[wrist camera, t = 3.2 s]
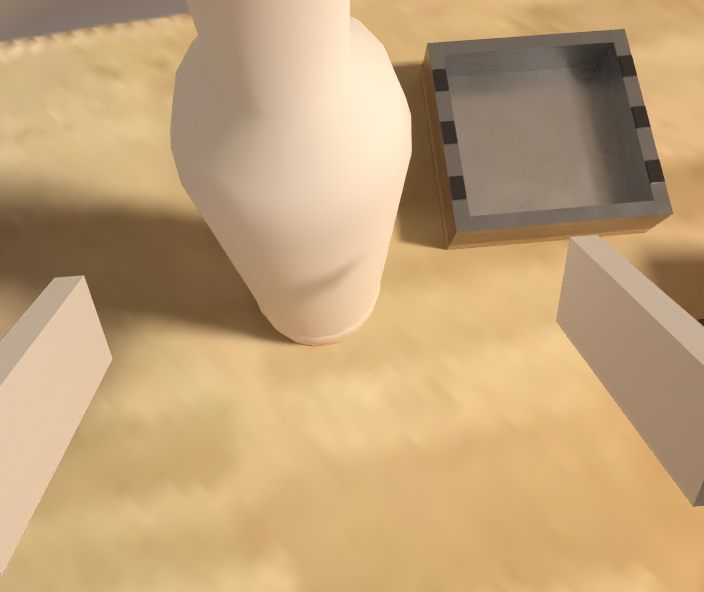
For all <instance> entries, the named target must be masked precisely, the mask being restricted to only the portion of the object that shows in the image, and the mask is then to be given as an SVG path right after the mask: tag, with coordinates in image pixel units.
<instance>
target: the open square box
mask: <svg viewBox="0 0 704 592" xmlns="http://www.w3.org/2000/svg"><path fill="white" fill-rule="evenodd" d="M421 79H422V86H423V93H424V99H425V106H426V113H427V119H428V126H429V133H430V140H431V146H432V153H433V160H434V166H435V173H436V180H437V187H438V193H439V200H440V207H441V213H442V220H443V227H444V233H445V240H446V247H447V250H451V249H462V248H474V247H485V246H496V245H508V244H519V243H531V242H542V241H553V240H565V239H570V237H575V236H588V235H598V236H610V235H622V234H633V233H645V232H647V231H648V230H650V229H651V228H653V227H654V226H656V225H657V224H659V223H660V222H661V221H663V220H664V219H666V218H667V217H669V216H670V215H672V214H673V211H672V207H671V204H670V200H669V196H668V192H667V188H666V185H665V180H664V176H663V172H662V168H661V164H660V161H659V158H658V154H657V150H656V147H655V143H654V139H653V135H652V131H651V128H650V127H651V126H650V123H649V119H648V115H647V111H646V107H645V105H644V101H643V97H642V93H641V90H640V86H639V82H638V78H637V73H636V70H635V66H634V62H633V58H632V55H631V52H630V48H629V44H628V40H627V36H626V33H625V29H619V30H605V31H591V32H577V33H563V34H549V35H535V36H521V37H508V38H494V39H480V40H466V41H452V42H438V43H427V47H426V52H425V57H424V61H423V66H422V71H421Z"/></svg>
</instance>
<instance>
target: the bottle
mask: <svg viewBox="0 0 704 592" xmlns="http://www.w3.org/2000/svg"><path fill="white" fill-rule="evenodd" d="M186 2H187V5H188V8H189V10H190V13H191V16H192V19H193V21H194V24H195V27H196V30H197V32H198V35H199V36H198V37H197V38H196V39H195V40H194V41H193V42H192V43H191V45H190V47H189V49H188V51H187V53H186V55H185V57H184V58H183V60H182V62H181V64H180V66H179V68H178V70H177V72H176V77H175V87H174V96H173V105H172V116H171V128H170V135H171V150H172V153H173V157H174V160H175V163H176V167H177V170H178V173H179V177H180V180H181V183H182V186H183V187H184V189H185V190H186V192H187V194H188V195H189V197H190V198H191V200H192V201H193V203H194V204H195V206H196V208H197V209H198V211H199V212H200V214H201V215H202V217H203V218H204V220H205V222H206V223H207V225H208V226H209V228H210V229H211V231H212V232H213V234H214V235H215V237H216V239H217V240H218V242H219V243H220V245H221V246H222V248H223V249H224V251H225V253H226V254H227V256H228V257H229V259H230V260H231V262H232V263H233V265H234V267H235V268H236V270H237V271H238V273H239V274H240V276H241V277H242V279H243V281H244V282H245V284H246V285H247V287H248V288H249V290H250V291H251V293H252V295H253V296H254V298H255V299H256V301H257V303H258V306H259V309H260V310H261V312H262V313H263V314H264V315H265V317H266V318H267V319H268V320H269V322H270V323H271V324H272V325H273V327H274V328H275V329H276V330H278V331H279V332H280V333H281V334H283V335H285V336H286V337H288V338H290V339H291V340H293V341H295V342H296V343H301V344H306V345H312V346H323V345H330V344H336V343H339V342H341V341H342V340H344V339H346V338H348V337H350V336H352V335H353V334H355V333H356V332H357V331H358V330H359V329H360V328H361V326H362V325H363V324H364V323H365V322H366V321H367V320H368V318H369V316H370V315H371V313H372V311H373V308H374V305H375V303H376V300H377V297H378V295H379V292H380V281H381V276H382V272H383V268H384V264H385V260H386V256H387V252H388V248H389V244H390V239H391V235H392V231H393V227H394V223H395V219H396V215H397V211H398V207H399V202H400V198H401V194H402V190H403V186H404V182H405V178H406V174H407V170H408V166H409V161H410V157H411V153H412V142H411V113H410V110H409V107H408V103H407V100H406V97H405V95H404V92H403V90H402V88H401V85H400V83H399V81H398V78H397V76H396V74H395V71H394V69H393V67H392V64H391V62H390V60H389V57H388V55H387V53H386V50H385V48H384V46H383V45H382V44H381V43H380V42H379V40H378V39H377V38H376V37H375V36H374V35H373V34H372V33H371V32H370V31H369V30H368V29H367V28H366V27H365V26H364V25H363V24H362V23H361V22H360V21H359V20H357V19H355V18H353V17H351V16H350V0H186Z"/></svg>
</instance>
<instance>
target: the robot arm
mask: <svg viewBox="0 0 704 592" xmlns="http://www.w3.org/2000/svg"><path fill="white" fill-rule="evenodd" d="M556 322H557V323H558V325H559V326H560V327H561V329H562V330H563V331H564V333H565V334H566V335H567V337H568V338H569V339H570V341H571V342H572V344H573V345H574V346H575V348H576V349H577V350H578V352H579V353H580V354H581V356H582V357H583V358H584V360H585V361H586V362H587V364H588V365H589V367H590V368H591V369H592V371H593V372H594V373H595V375H596V376H597V377H598V379H599V380H600V381H601V383H602V384H603V385H604V387H605V388H606V390H607V391H608V392H609V394H610V395H611V396H612V398H613V399H614V400H615V402H616V403H617V404H618V406H619V407H620V408H621V410H622V411H623V413H624V414H625V415H626V417H627V418H628V419H629V421H630V422H631V423H632V425H633V426H634V427H635V429H636V430H637V431H638V433H639V434H640V436H641V437H642V438H643V440H644V441H645V442H646V444H647V445H648V446H649V448H650V449H651V450H652V452H653V453H654V454H655V456H656V457H657V459H658V460H659V461H660V463H661V464H662V465H663V467H664V468H665V469H666V471H667V472H668V473H669V475H670V476H671V477H672V479H673V480H674V482H675V483H676V484H677V486H678V487H679V488H680V490H681V491H682V492H683V494H684V495H685V496H686V498H687V499H688V500H689V502H690V503H691V504H692V506H693V507H694V506H704V319H699V320H695V319H694V318H693V317H692V316H691V315H690V314H688V313H687V312H686V311H685V310H684V309H683V308H682V307H680V306H679V305H678V304H677V303H676V302H675V301H673V300H672V299H671V298H670V297H669V296H668V295H666V294H665V293H664V292H663V291H662V290H661V289H660V288H658V287H657V286H656V285H655V284H654V283H653V282H651V281H650V280H649V279H648V278H647V277H646V276H645V275H643V274H642V273H641V272H640V271H639V270H638V269H636V268H635V267H634V266H633V265H632V264H631V263H629V262H628V261H627V260H626V259H625V258H624V257H623V256H621V255H620V254H619V253H618V252H617V251H616V250H614V249H613V248H612V247H611V246H610V245H609V244H608V243H606V242H605V241H604V240H603V239H602V238H601V237H599V236H598V235H588V236H575V237H570V240H569V246H568V252H567V258H566V264H565V270H564V276H563V282H562V288H561V294H560V300H559V306H558V312H557V318H556ZM111 361H112V356H111V353H110V350H109V347H108V344H107V341H106V338H105V335H104V332H103V329H102V327H101V324H100V321H99V318H98V315H97V312H96V309H95V306H94V303H93V300H92V297H91V294H90V291H89V289H88V286H87V283H86V280H85V277H84V275H81V276H69V277H56V278H54V279H53V280H52V281H51V282H50V284H49V285H48V286H47V287H46V288H45V289H44V291H43V292H42V293H41V294H40V295H39V296H38V298H37V299H36V300H35V301H34V302H33V304H32V305H31V306H30V307H29V308H28V309H27V311H26V312H25V313H24V314H23V315H22V316H21V318H20V319H19V320H18V321H17V322H16V324H15V325H14V326H13V327H12V328H11V329H10V331H9V332H8V333H7V334H6V335H5V336H4V338H3V339H2V340H1V341H0V576H1V575H2V574H3V572H4V570H5V568H6V566H7V564H8V562H9V560H10V558H11V556H12V554H13V552H14V551H15V549H16V547H17V545H18V543H19V541H20V539H21V537H22V535H23V533H24V531H25V529H26V527H27V525H28V523H29V521H30V519H31V517H32V515H33V513H34V511H35V510H36V508H37V506H38V504H39V502H40V500H41V498H42V496H43V494H44V492H45V490H46V488H47V486H48V484H49V482H50V480H51V478H52V476H53V474H54V472H55V470H56V468H57V467H58V465H59V463H60V461H61V459H62V457H63V455H64V453H65V451H66V449H67V447H68V445H69V443H70V441H71V439H72V437H73V435H74V433H75V431H76V429H77V427H78V426H79V424H80V422H81V420H82V418H83V416H84V414H85V412H86V410H87V408H88V406H89V404H90V402H91V400H92V398H93V396H94V394H95V392H96V390H97V388H98V386H99V385H100V383H101V381H102V379H103V377H104V375H105V373H106V371H107V369H108V367H109V365H110V363H111Z"/></svg>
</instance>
